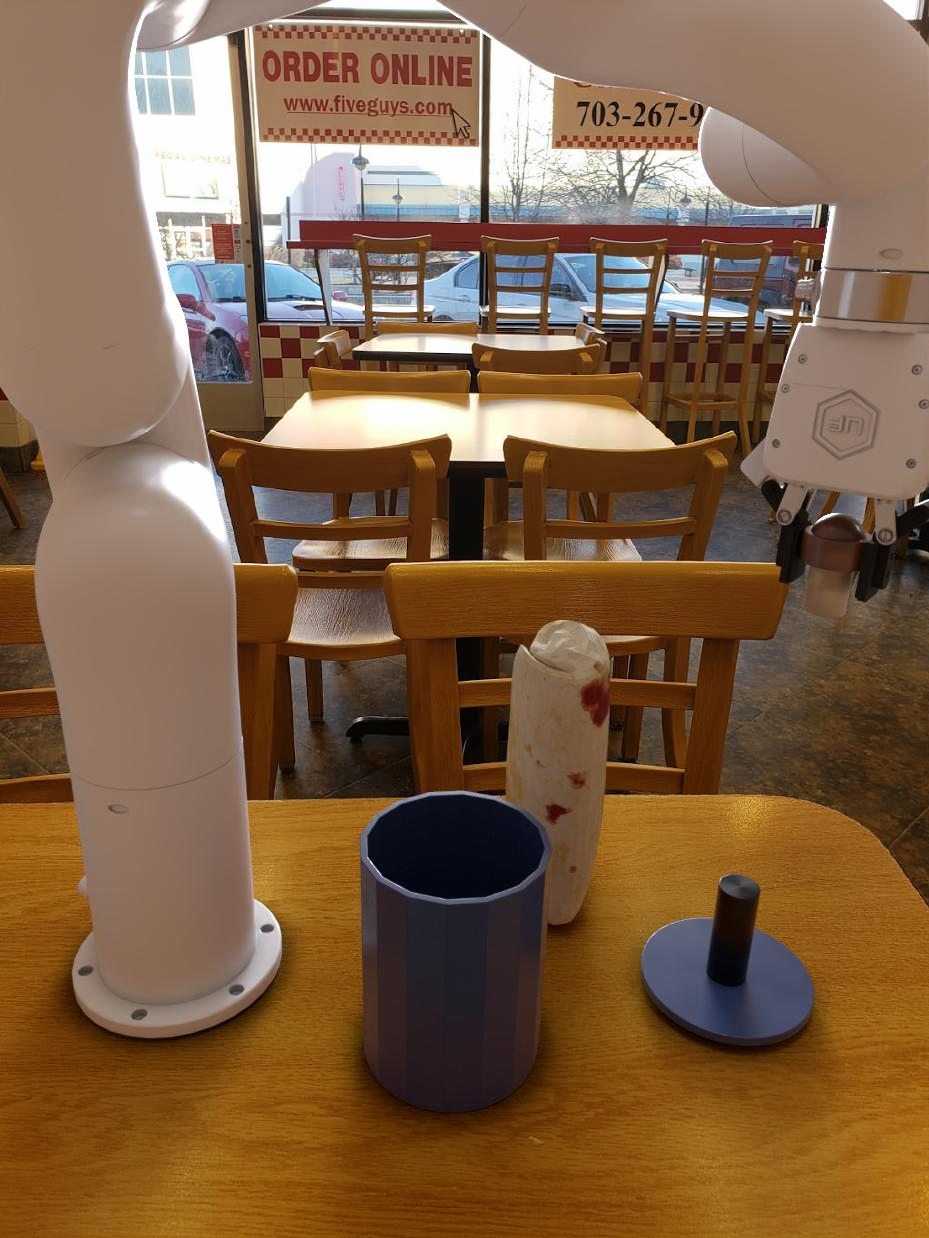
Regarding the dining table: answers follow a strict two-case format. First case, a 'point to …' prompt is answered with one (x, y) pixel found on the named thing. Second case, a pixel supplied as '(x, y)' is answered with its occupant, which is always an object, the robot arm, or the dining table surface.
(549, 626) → the food model
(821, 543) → the mushroom
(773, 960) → the lid
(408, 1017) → the pot
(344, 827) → the dining table surface
